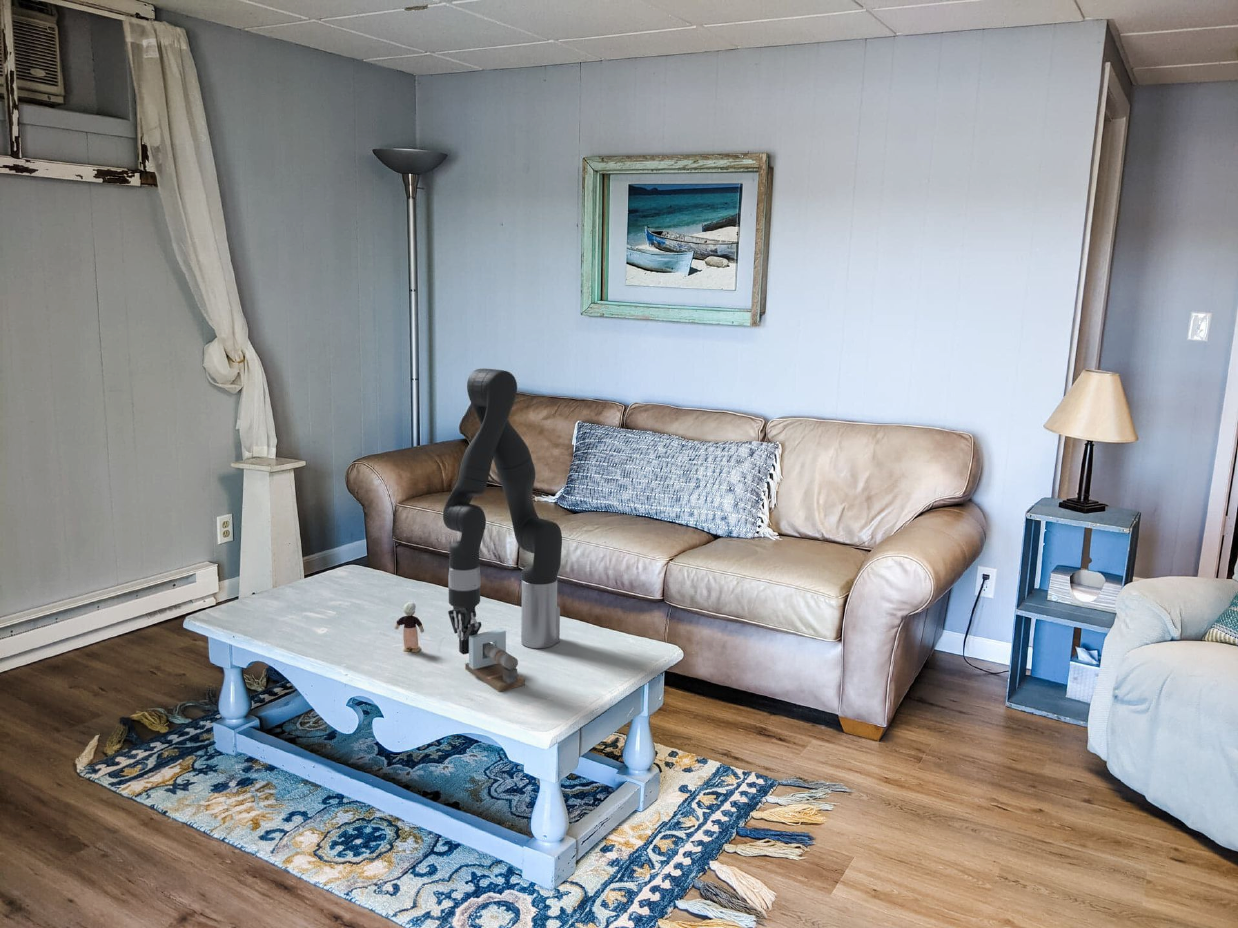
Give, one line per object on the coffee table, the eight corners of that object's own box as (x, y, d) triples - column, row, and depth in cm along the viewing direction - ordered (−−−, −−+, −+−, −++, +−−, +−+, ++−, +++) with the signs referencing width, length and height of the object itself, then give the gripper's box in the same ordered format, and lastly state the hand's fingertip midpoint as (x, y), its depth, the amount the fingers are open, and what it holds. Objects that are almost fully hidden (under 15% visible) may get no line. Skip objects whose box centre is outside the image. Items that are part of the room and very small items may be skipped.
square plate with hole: (501, 658, 231) (501, 628, 230) (505, 661, 230) (505, 630, 228) (469, 666, 226) (468, 635, 224) (473, 669, 224) (473, 638, 223)
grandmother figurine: (426, 647, 243) (425, 600, 241) (423, 652, 239) (423, 604, 237) (396, 646, 243) (395, 599, 240) (393, 652, 239) (392, 604, 237)
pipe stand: (490, 662, 234) (490, 633, 232) (525, 684, 221) (525, 654, 220) (464, 668, 230) (464, 639, 228) (499, 691, 217) (499, 660, 216)
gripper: (491, 589, 223) (491, 658, 226) (465, 575, 233) (465, 641, 237) (463, 594, 219) (463, 665, 222) (437, 579, 229) (438, 647, 232)
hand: (464, 652), depth 229 cm, fingers closed
